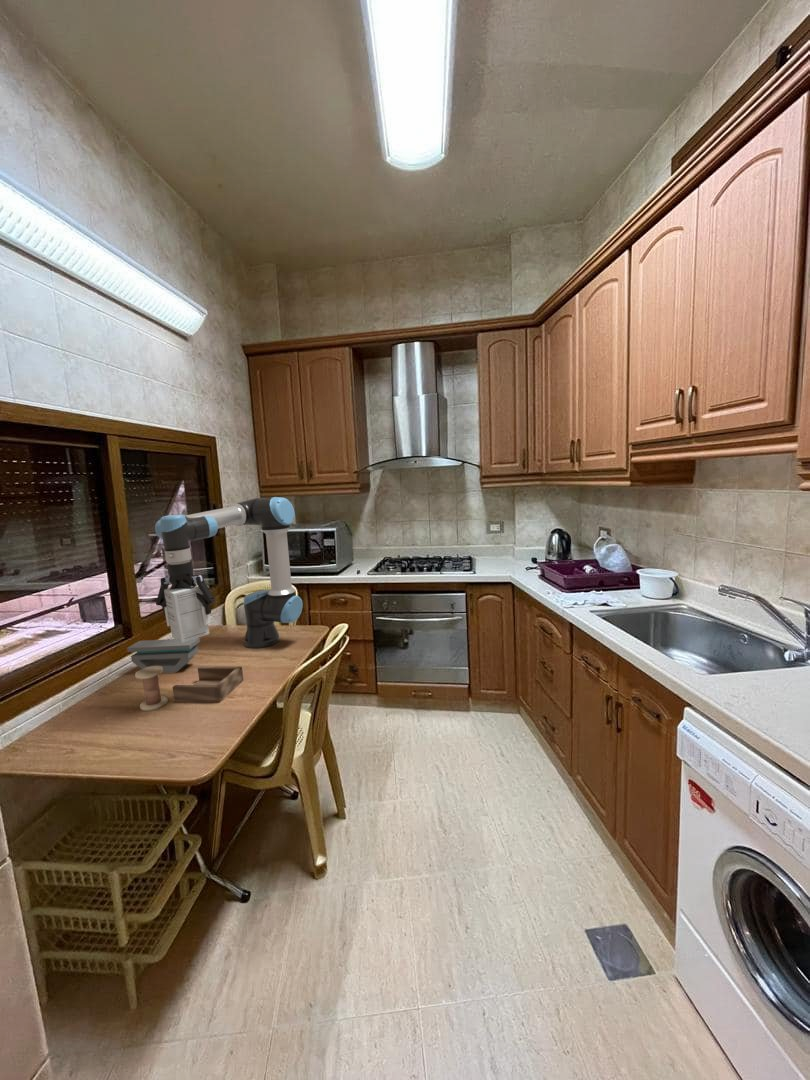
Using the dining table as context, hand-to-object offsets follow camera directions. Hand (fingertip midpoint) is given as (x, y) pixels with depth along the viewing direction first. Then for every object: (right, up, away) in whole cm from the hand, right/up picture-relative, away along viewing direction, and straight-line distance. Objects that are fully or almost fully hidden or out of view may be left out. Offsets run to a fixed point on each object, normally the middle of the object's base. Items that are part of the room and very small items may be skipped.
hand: (189, 624), depth 151 cm
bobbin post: (-11, -27, -1) cm, 29 cm away
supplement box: (0, -4, +1) cm, 4 cm away
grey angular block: (-22, -23, +29) cm, 43 cm away
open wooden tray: (+3, -25, +7) cm, 26 cm away
